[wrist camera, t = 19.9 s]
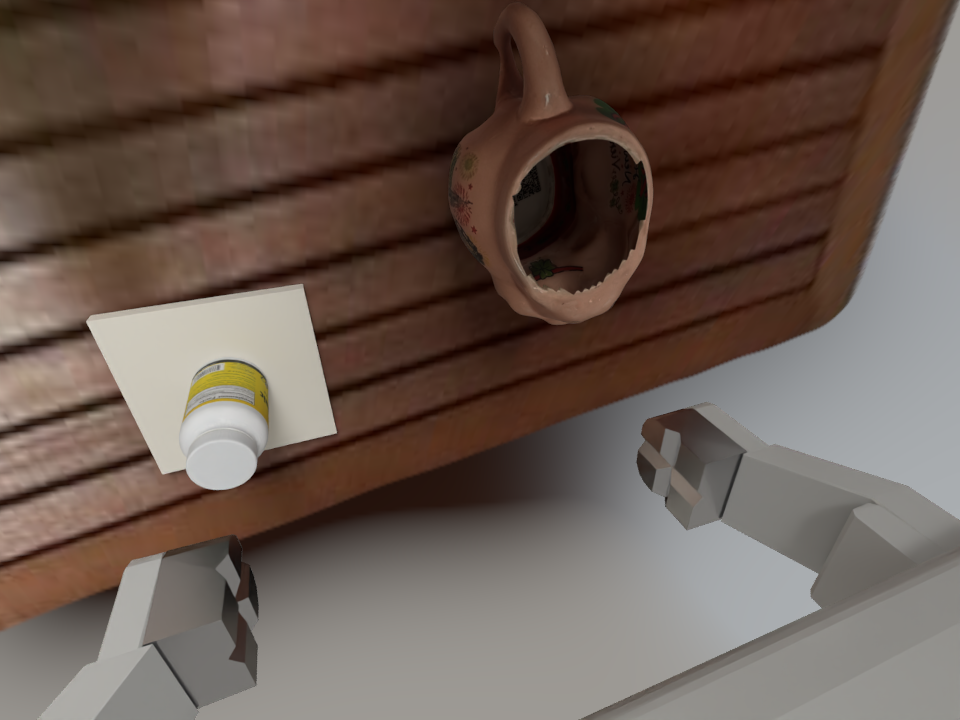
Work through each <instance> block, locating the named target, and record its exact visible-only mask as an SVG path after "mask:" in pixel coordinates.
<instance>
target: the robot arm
mask: <svg viewBox="0 0 960 720" xmlns="http://www.w3.org/2000/svg"><path fill="white" fill-rule="evenodd" d="M641 435H642V436H643V438H644V439H645V442H644V443H643V444H642V446H641V447H640V448H639V450H638V454H637V466H638V470H639V474H640V476H641V478H642V480H643V481H644V483H645V484H646V485H647V487H648V488H649V489H650V490H651V491H652V492H654V493H656V494H659V495H661V496H663V497H665V507H666V508H667V509H668V510H669V511H670V512H671V513H672V514H673V516H674V517H675V518H676V519H677V520H678V521H679V522H680V523H681V524H682V525H683V526H684V528H685V529H686V530H689V529H693V528H695V527H699V526H702V525H705V524H708V523H711V522H714V521H717V520H720V519H722V520H721V522H723V523H725V524H727V525H729V526H731V527H732V528H734V529H736V530H738V531H740V532H742V533H744V534H745V535H748V536H749V537H751V538H753V539H755V540H757V541H759V542H760V543H762V544H764V545H766V546H768V547H770V548H772V549H774V550H775V551H777V552H779V553H781V554H783V555H785V556H787V557H788V558H790V559H793V560H794V561H796V562H798V563H800V564H802V565H803V566H805V567H807V568H809V569H811V570H813V571H815V572H816V573H818V574H819V575H818V577H817V578H816V580H815V582H814V584H813V586H812V588H811V598H812V599H813V600H815V602H816V603H817V604H818V605H819V606H820V607H821V608H822V609H820V610H818V611H816V612H813V613H811V614H809V615H807V616H805V617H802V618H800V619H798V620H796V621H794V622H792V623H789V624H787V625H785V626H783V627H780V628H778V629H776V630H774V631H772V632H770V633H767V634H765V635H763V636H761V637H759V638H756V639H754V640H752V641H750V642H748V643H746V644H743V645H741V646H739V647H737V648H735V649H732V650H730V651H728V652H726V653H724V654H722V655H719V656H717V657H715V658H713V659H711V660H708V661H706V662H704V663H702V664H700V665H697V666H695V667H693V668H691V669H689V670H687V671H684V672H682V673H680V674H678V675H676V676H673V677H671V678H669V679H667V680H665V681H663V682H660V683H658V684H656V685H654V686H652V687H649V688H647V689H645V690H643V691H641V692H638V693H636V694H634V695H632V696H630V697H628V698H625V699H623V700H621V701H619V702H617V703H614V704H612V705H610V706H608V707H606V708H603V709H601V710H599V711H597V712H595V713H593V714H591V715H588V716H586V717H584V718H582V719H580V720H960V520H959V519H957V518H955V517H954V516H952V515H951V514H949V513H948V512H946V511H945V510H943V509H942V508H940V507H939V506H937V505H936V504H934V503H933V502H931V501H930V500H928V499H927V498H925V497H924V496H922V495H921V494H919V493H917V492H916V491H914V490H913V489H911V488H910V487H908V486H906V485H903V484H900V483H896V482H893V481H890V480H887V479H884V478H880V477H878V476H874V475H871V474H868V473H865V472H862V471H858V470H855V469H852V468H849V467H846V466H843V465H839V464H836V463H833V462H830V461H827V460H824V459H820V458H817V457H814V456H811V455H808V454H805V453H802V452H798V451H795V450H792V449H789V448H786V447H783V446H779V445H776V444H773V445H770V446H769V445H767V444H766V443H765V442H763V441H762V440H761V439H759V438H758V437H756V436H755V435H754V434H753V433H752V432H750V431H749V430H748V429H746V428H745V427H744V426H742V425H741V424H740V423H738V422H737V421H736V420H734V419H733V418H732V417H730V416H729V415H727V414H726V413H725V412H724V411H722V410H721V409H720V408H718V407H717V406H716V405H714V404H711V403H708V402H705V403H701V404H698V405H694V406H691V407H687V408H686V409H681V410H677V411H674V412H670V413H667V414H663V415H660V416H656V417H653V418H649V419H647V420H646V422H645V423H644V424H643V427H642V432H641ZM258 606H259V605H258V595H257V586H256V583H255V579H254V575H253V572H252V570H251V567H250V565H248V564H246V563H243V562H242V546H241V544H240V542H239V540H238V538H237V536H236V535H228V536H224V537H220V538H216V539H212V540H208V541H204V542H200V543H196V544H192V545H189V546H185V547H181V548H177V549H173V550H169V551H167V552H164V553H160V554H156V555H152V556H148V557H144V558H140V559H136V560H132V561H131V562H130V563H129V565H128V566H127V567H126V569H125V570H124V573H123V576H122V580H121V583H120V586H119V590H118V593H117V596H116V600H115V603H114V606H113V610H112V613H111V616H110V620H109V623H108V626H107V629H106V633H105V636H104V639H103V643H102V646H101V649H100V653H99V656H98V659H97V662H94V663H91V664H88V665H85V666H84V667H83V668H82V669H81V671H80V672H79V673H78V674H77V675H76V676H75V677H74V678H73V680H72V681H71V682H70V683H69V684H68V685H67V686H66V687H65V689H64V690H63V691H62V692H61V693H60V694H59V695H58V696H57V698H56V699H55V700H54V701H53V702H52V703H51V704H50V705H49V707H48V708H47V709H46V710H45V711H44V712H43V713H42V714H41V716H40V717H39V718H38V719H37V720H195V718H196V716H197V714H198V710H197V709H198V708H201V707H203V706H206V705H208V704H211V703H214V702H216V701H219V700H221V699H224V698H226V697H229V696H232V695H234V694H237V693H239V692H242V691H244V690H247V689H249V688H252V687H255V686H256V681H257V680H256V679H257V650H258V645H257V643H256V641H255V639H254V636H253V634H252V632H251V630H252V629H253V628H254V626H255V624H256V623H257V621H258V610H259V607H258Z"/></svg>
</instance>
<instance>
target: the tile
mask: <svg viewBox="0 0 960 720" xmlns="http://www.w3.org/2000/svg"><path fill="white" fill-rule="evenodd" d="M86 322H87V324H88V326H89V328H90V330H91V332H92V334H93V336H94V338H95V340H96V342H97V344H98V346H99V348H100V350H101V352H102V354H103V356H104V358H105V360H106V362H107V364H108V366H109V368H110V370H111V372H112V374H113V376H114V378H115V380H116V382H117V384H118V386H119V388H120V390H121V392H122V394H123V396H124V398H125V400H126V402H127V404H128V406H129V408H130V410H131V412H132V414H133V416H134V418H135V420H136V422H137V424H138V426H139V428H140V430H141V432H142V434H143V436H144V438H145V440H146V442H147V444H148V446H149V448H150V450H151V452H152V454H153V456H154V458H155V460H156V462H157V464H158V466H159V468H160V471H161V473H162V474H167V473H171V472H175V471H179V470H184V469H186V459H187V458H186V457H185V455H184V454H183V452H182V450H181V448H180V444H179V433H180V428H181V424H182V420H183V416H184V411H185V407H186V403H187V398H188V394H189V389H190V385H191V382H192V379H193V377H194V375H195V373H196V372H197V370H198V369H199V368H200V367H201V366H203V365H204V364H206V363H207V362H209V361H212V360H214V359H218V358H223V357H235V358H241V359H244V360H247V361H250V362H251V363H253V364H255V365H256V366H258V367H259V368H260V369H261V370H262V372H263V373H264V375H265V377H266V379H267V382H268V404H269V435H268V442H267V445H266V447H265V449H264V450H268V449H272V448H276V447H281V446H285V445H289V444H293V443H298V442H302V441H306V440H310V439H314V438H319V437H323V436H327V435H331V434H336V433H337V430H336V425H335V421H334V416H333V412H332V408H331V403H330V399H329V395H328V390H327V386H326V382H325V377H324V373H323V369H322V364H321V360H320V356H319V351H318V347H317V343H316V338H315V334H314V330H313V325H312V321H311V317H310V312H309V308H308V304H307V299H306V295H305V291H304V286H303V284H297V285H290V286H284V287H277V288H270V289H264V290H257V291H250V292H244V293H237V294H230V295H224V296H217V297H211V298H204V299H197V300H191V301H184V302H177V303H171V304H164V305H157V306H151V307H144V308H137V309H131V310H124V311H117V312H111V313H104V314H97V315H91V316H90V317H89V318H88V320H87V321H86Z"/></svg>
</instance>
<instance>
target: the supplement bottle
mask: <svg viewBox="0 0 960 720" xmlns="http://www.w3.org/2000/svg"><path fill="white" fill-rule="evenodd" d="M268 435H269V404H268V382H267V379H266V377H265V375H264V373H263V372H262V370H261V369H260V368H259V367H258V366H256V365H255V364H253V363H251V362H250V361H247V360H244V359H241V358H235V357H223V358H218V359H214V360H212V361H209V362H207V363H206V364H204V365H203V366H201V367H200V368H199V369H198V370H197V372H196V373H195V375H194V377H193V379H192V382H191V385H190V389H189V394H188V398H187V403H186V407H185V411H184V416H183V420H182V424H181V428H180V433H179V444H180V448H181V450H182V452H183V454H184V455H185V457H186V458H187V459H186V471H187V474H188V476H189V477H190V479H191V480H192V481H193V482H194V483H196V484H197V485H199V486H201V487H204V488H207V489H212V490H225V489H231V488H234V487H237V486H239V485H241V484H243V483H245V482H246V481H247V480H249V479H250V478H251V476H252V475H253V474H254V472H255V470H256V467H257V458H258V457H259V456H260V455H261V454H262V452H263V451H264V449H265V447H266V445H267V442H268Z"/></svg>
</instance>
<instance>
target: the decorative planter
mask: <svg viewBox="0 0 960 720" xmlns="http://www.w3.org/2000/svg"><path fill="white" fill-rule="evenodd" d="M511 37H513V38H514V41H515V43H516V45H517V48H518V51H519V54H520V58H521V62H522V67H523V76H524V80H523V78H522V77H521V75H520V73H519V71H518V69H517V66H516V63H515V59H514V55H513V51H512V48H511V43H510V42H511ZM493 39H494V44H495V46H496V48H497V49H498V51H499V54H500V61H501V63H500V71H499V84H498V91H497V97H496V105H495V111H494V114H493V115H492V116H491V117H490V118H488V119H487V120H486V121H485V122H484V123H483V124H482V125H480V126H479V127H478V128H476V129H475V130H473V131H471V132H470V133H468V134H467V135H466V136H465V137H464V138H463V139H462V140H461V142H460V143H459V144H458V146H457V148H456V150H455V152H454V154H453V157H452V161H451V165H450V171H449V186H448V200H449V206H450V209H451V213H452V216H453V218H454V221H455V224H456V226H457V229H458V231H459V234H460V237H461V239H462V241H463V242H464V244H465V246H466V247H467V248H468V250H469V251H470V252H471V254H472V255H473V256H474V257H475V258H476V259H477V260H478V261H479V262H480V263H481V264H482V265H483V266H484V267H485V268H486V269H487V270H488V271H489V272H490V274H491V276H492V279H493V283H494V286H495V289H496V291H497V293H498V294H499V295H500V296H501V297H502V298H504V299H505V300H506V301H507V302H508V303H509V305H510V307H511V308H512V309H513V310H514V311H515V312H517V313H518V314H521V315H525V316H532V317H537V318H540V319H543V320H545V321H546V322H548V323H550V324H553V325H563V324H568V323H575V324H576V323H580V322H583V321H585V320H587V319H589V318H592V317H594V316H597V315H600V314H602V313H604V312H606V311H608V310H609V309H610V308H611V307H612V306H613V305H614V303H615V302H616V300H617V299H618V297H619V296H620V294H621V292H622V290H623V288H624V286H625V285H626V283H627V281H628V280H629V279H630V277H631V276H632V274H633V273H634V271H635V270H636V268H637V267H638V265H639V263H640V262H641V260H642V257H643V255H644V251H645V246H646V240H647V233H648V227H649V220H650V215H651V209H652V204H653V182H652V174H651V167H650V163H649V159H648V157H647V154H646V152H645V150H644V148H643V146H642V145H641V143H640V142H639V140H638V139H637V138H636V136H635V135H634V134H633V133H632V132H631V131H630V130H629V128H628V126H627V124H626V123H625V122H624V120H623V119H622V118H621V117H620V116H619V114H618V113H617V112H616V111H615V110H613V109H612V108H611V107H610V106H609V105H607V104H606V103H605V102H603V101H602V100H600V99H598V98H595V97H592V96H589V95H578V96H570V97H568V96H567V94H566V91H565V88H564V85H563V81H562V75H561V70H560V66H559V63H558V60H557V57H556V52H555V48H554V45H553V43H552V41H551V38H550V36H549V34H548V32H547V30H546V28H545V26H544V24H543V22H542V20H541V19H540V17H539V16H538V15H537V14H536V13H535V12H534V11H533V10H532V9H531V8H529V7H528V6H526V5H525V4H523V3H522V2H513V3H511V4H509V5H508V6H507V7H506V8H505V9H504V10H503V11H502V12H501V14H500V16H499V19H498V21H497V23H496V25H495V28H494V31H493Z"/></svg>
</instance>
